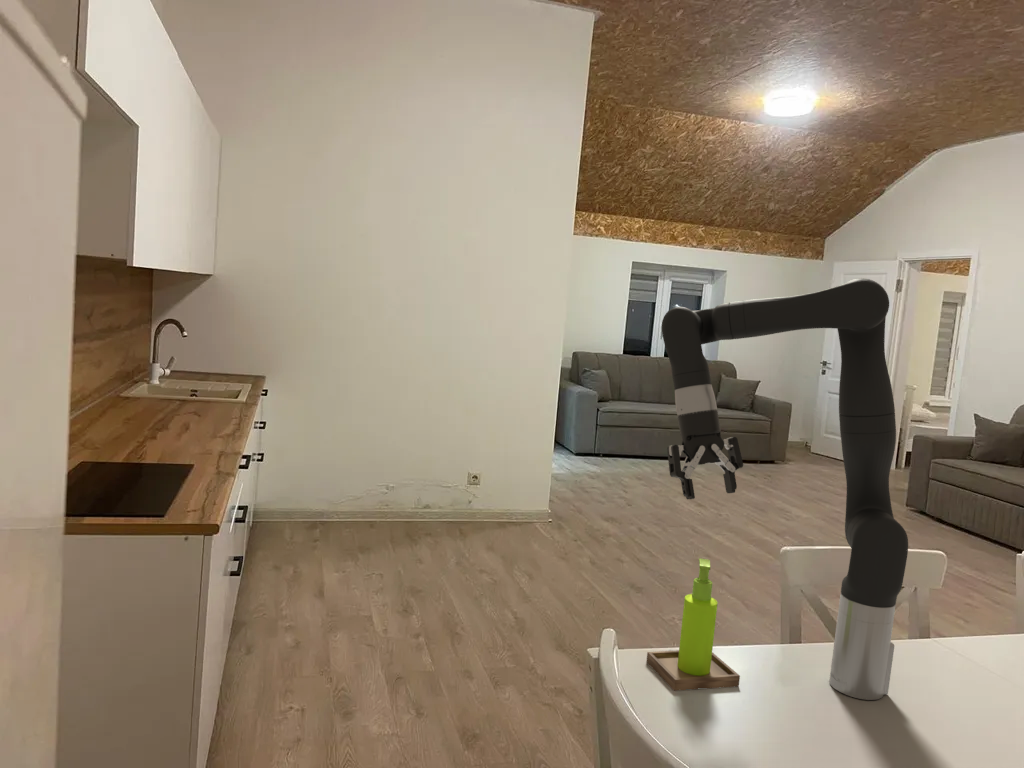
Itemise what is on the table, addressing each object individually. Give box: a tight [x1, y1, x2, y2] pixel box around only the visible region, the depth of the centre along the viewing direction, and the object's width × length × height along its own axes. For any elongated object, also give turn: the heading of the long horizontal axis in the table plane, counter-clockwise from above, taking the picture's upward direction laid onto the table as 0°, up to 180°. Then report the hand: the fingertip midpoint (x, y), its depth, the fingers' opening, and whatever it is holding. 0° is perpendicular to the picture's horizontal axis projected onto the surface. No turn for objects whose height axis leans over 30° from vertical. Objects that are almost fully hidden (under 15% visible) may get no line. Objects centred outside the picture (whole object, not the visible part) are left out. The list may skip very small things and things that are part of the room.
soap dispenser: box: [678, 558, 719, 676], centre depth 144 cm, size 6×7×20 cm
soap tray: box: [646, 649, 741, 692], centre depth 145 cm, size 13×11×2 cm
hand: (711, 496), depth 148 cm, fingers open, 8 cm apart
